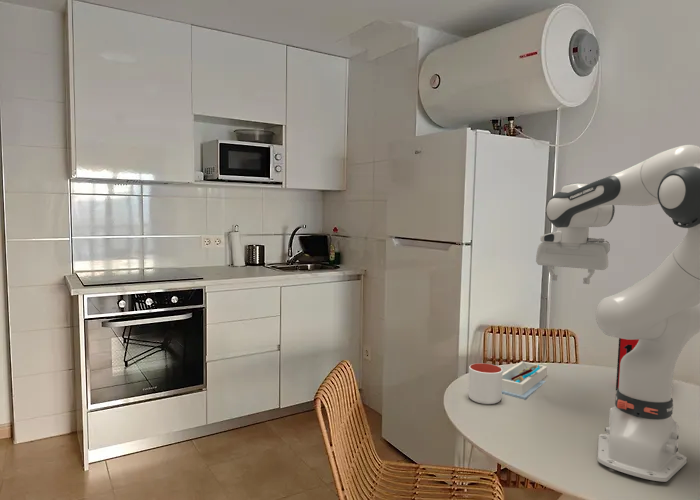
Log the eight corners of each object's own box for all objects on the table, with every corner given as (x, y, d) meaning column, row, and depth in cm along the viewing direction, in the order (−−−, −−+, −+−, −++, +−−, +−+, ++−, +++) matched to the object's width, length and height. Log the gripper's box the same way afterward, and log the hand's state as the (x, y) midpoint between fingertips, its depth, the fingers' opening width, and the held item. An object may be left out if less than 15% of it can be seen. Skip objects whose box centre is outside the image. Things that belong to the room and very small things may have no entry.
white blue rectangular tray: (525, 400, 152) (526, 386, 152) (488, 391, 160) (488, 377, 159) (551, 379, 173) (552, 366, 173) (518, 371, 181) (518, 359, 180)
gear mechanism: (502, 391, 160) (526, 381, 155) (493, 376, 162) (516, 365, 156) (526, 374, 175) (548, 363, 170) (518, 360, 177) (539, 349, 171)
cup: (467, 403, 149) (469, 371, 148) (467, 392, 158) (469, 361, 158) (502, 407, 146) (503, 374, 146) (500, 395, 156) (501, 364, 155)
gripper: (612, 238, 145) (609, 284, 146) (541, 235, 158) (539, 278, 159) (607, 239, 141) (604, 287, 142) (535, 235, 153) (533, 279, 154)
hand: (569, 282), depth 150 cm, fingers open, 8 cm apart
